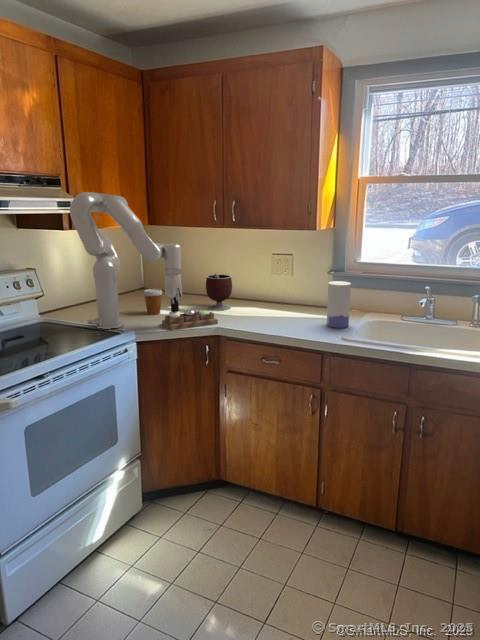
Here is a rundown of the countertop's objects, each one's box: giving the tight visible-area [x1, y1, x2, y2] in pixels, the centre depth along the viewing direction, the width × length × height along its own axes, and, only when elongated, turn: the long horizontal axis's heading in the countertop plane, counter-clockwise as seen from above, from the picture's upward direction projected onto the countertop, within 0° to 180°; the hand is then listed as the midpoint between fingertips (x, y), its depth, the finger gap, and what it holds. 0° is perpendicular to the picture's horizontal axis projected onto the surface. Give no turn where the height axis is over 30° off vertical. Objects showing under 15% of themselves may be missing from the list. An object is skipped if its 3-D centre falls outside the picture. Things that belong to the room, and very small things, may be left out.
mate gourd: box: [205, 273, 233, 312], centre depth 250 cm, size 16×14×20 cm
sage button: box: [198, 310, 211, 315], centre depth 224 cm, size 5×5×2 cm
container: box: [326, 280, 352, 329], centre depth 217 cm, size 10×10×20 cm
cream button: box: [168, 311, 181, 319], centre depth 217 cm, size 5×5×2 cm
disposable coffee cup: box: [142, 288, 163, 316], centre depth 240 cm, size 10×10×12 cm
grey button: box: [183, 309, 196, 317], centre depth 220 cm, size 5×5×2 cm
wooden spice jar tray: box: [161, 311, 219, 331], centre depth 221 cm, size 23×12×4 cm, turn 119°
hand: (175, 311), depth 216 cm, fingers closed
